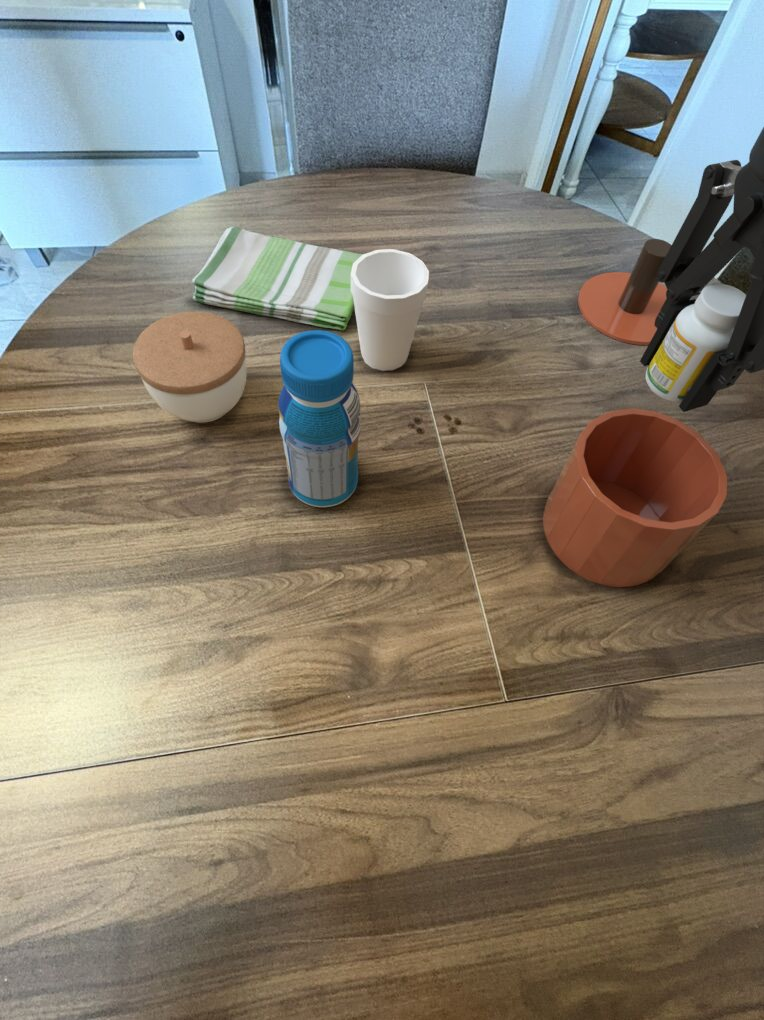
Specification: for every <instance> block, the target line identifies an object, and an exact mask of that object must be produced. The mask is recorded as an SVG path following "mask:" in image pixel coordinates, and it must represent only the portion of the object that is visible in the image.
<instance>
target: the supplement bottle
mask: <svg viewBox="0 0 764 1020" xmlns="http://www.w3.org/2000/svg"><path fill="white" fill-rule="evenodd" d="M700 292H701V293H700ZM700 292H699V293H700V295H698V297H697V298H696V301H695V304H692V305H689V306H687V307H686V308H684V309H683V310H682V311H681V312H680V313H679V314H678V316H677V318H676V319H675V321H674V323H673V324H672V326H671V328H670V330H669V331H668V333H667V335H666V337H665V338H664V340H663V342H662V344H661V345H660V347H659V349H658V351H657V352H656V354H655V356H654V357H653V359H652V361H651V362H650V364H649V365H648V366H647V368H646V371H645V375H644V376H645V382H646V383H647V386H648V388H649V389H650V390H651V391H652V392H653V393H654V394H655V395H656V396H658V397H659V398H660V399H662V400H665V401H668V402H672V403H678V404H680V403H681V402H682V400H683V399H684V397H685V396H686V394H687V393H688V391H689V390H690V389H691V387H692V386H693V384H694V383H695V381H696V380H697V378H698V377H699V375H700V374H701V372H702V371H703V369H704V368H705V366H706V365H707V363H708V362H709V360H710V359H711V357H712V356H713V354H714V353H715V352H717V351H721V350H724V349H727V347H728V344H729V341H730V339H731V336H732V333H733V330H734V328H735V325H736V322H737V319H738V317H739V314H740V311H741V308H742V306H743V303H744V300H745V297H746V295H747V293H744V292H743V291H742V290H740V289H739V288H737V287H735V286H732V285H729V284H725V283H724V284H723V283H713V284H708V285H706V286H705V287H704V288H703V289H702V291H700Z"/></svg>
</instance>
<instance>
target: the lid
mask: <svg viewBox="0 0 764 1020" xmlns="http://www.w3.org/2000/svg"><path fill="white" fill-rule="evenodd" d="M671 245H672V244H671V243H670V242H668V241H665V240H663V239H660V238H650V239H648V240H646V241H645V242H644V243H643V246H642V249H641V251H640V253H639V255H638V257H637V259H636V261H635V264H634V266H633V268H632V271H631V272H627V271H626V272H624V271H611V272H604V273H601V274H597V275H594V276H593V277H591V278H589V279H588V280H586V281H585V282H584V283H583V285H582V286H581V288H580V289H579V293H578V296H577V305H578V308H579V311H580V314H581V315H582V317H583V318H584V320H586V322H587V323H588V324H589V325H590V326H591V327H593V328H594V329H595V330H596V331H598V332H599V333H601V334H603V335H604V336H606V337H609V338H611V339H613V340H615V341H618V342H620V343H621V342H622V343H626V344H630V345H638V346H648V345H649V343H650V341H651V340H652V338H653V336H654V334H655V332H656V330H657V328H656V327H655V326H654V324H655V319H656V317H657V315H658V313H659V312H660V310H661V308H662V306H663V304H664V302H665V300H666V298H667V297H666V291H667V287H666V285H663V283H661V282H659V281H658V279H657V272H658V270H659V268H660V266H661V264H662V262H663V260H664V259H665V257H666V255H667V253H668V251H669V249H670V247H671Z"/></svg>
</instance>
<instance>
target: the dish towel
mask: <svg viewBox="0 0 764 1020" xmlns="http://www.w3.org/2000/svg"><path fill="white" fill-rule="evenodd" d="M362 255H363V254H362V253H356V252H352V251H347V250H341V249H336V248H332V247H327V246H320V245H314V244H311V243H310V244H309V243H304V242H300V241H296V240H293V239H288V238H283V237H276V236H269V235H265V234H262V233H258V232H253V231H250V230H247V229H244V228H242V227H238V226H236V225H235V226H231V227H227V228H226V229H225V230H224V232H223V233H222V236H221V237H220V238H219V240H218V242H217V245H216V246H215V248H214V249H213V251H212V253H211V254H210V256H209V257H208V259H207V261H206V263H205V264H204V265H203V267H202V268H201V270H200V271H199V272H198V273H197V274H196V275H195V276H194V277H193V278H192V279H191V284H192V285H195V286H194V289H195V290H194V293H192V300H193V301H195V302H198V303H201V304H205V305H210V306H214V307H215V306H216V307H221V308H225V309H231V310H233V311H240V312H245V313H249V314H254V315H259V316H266V317H272V318H277V319H281V320H285V321H290V322H294V323H299V324H304V325H311V326H314V327H318V328H319V327H320V328H324V329H332V330H339V331H344V330H346V328H347V326H348V323H349V322H350V319H352V318H351V317H352V315H353V312H354V310H355V307H354V300H353V295H352V293H351V270H352V266H353V263H354V262H355V261H356V260H357V259H358V258H359V257H361V256H362Z"/></svg>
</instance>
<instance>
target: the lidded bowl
mask: <svg viewBox="0 0 764 1020" xmlns="http://www.w3.org/2000/svg"><path fill="white" fill-rule="evenodd" d="M246 356H247V355H246V343H245V339H244V337H243V334H242V332H241V331H240V329H239V328H238V327H237V326H236V325H235V324H234V323H233V322H232V321H230V320H229V319H227V318H225V317H223V316H220V315H217V314H215V313H211V312H205V311H183V312H178V313H174V314H170V315H167V316H165V317H162V318H160V319H158V320H156V321H154V322H153V323H151V324H149V326H147V327H145V329H144V330H143V331H142V332H141V333H140V334H139V336H138V337H137V339H136V340H135V342H134V344H133V348H132V361H133V362H132V363H133V365H134V367H135V370H136V372H137V374H138V375H139V377H140V379H141V381H142V383H143V385H144V387H145V389H146V391H147V392H148V394H149V396H150V397H151V398H152V400H153V401H154V402H155V403H156V405H157V406H159V407H160V408H161V409H162V410H163V411H164V412H166V413H167V414H168V415H170V416H173V417H175V418H177V419H179V420H182V421H186V422H192V423H198V424H199V423H201V424H204V423H209V422H213V421H217V420H218V419H221V418H222V417H224V416H225V415H226V414H227V413H229V412H230V411H231V410H232V409H233V408H234V407H236V405H237V403H239V401H240V400H241V398H242V396H243V393H244V391H245V387H246V384H247V377H248V367H247V366H248V364H247V357H246Z"/></svg>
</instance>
